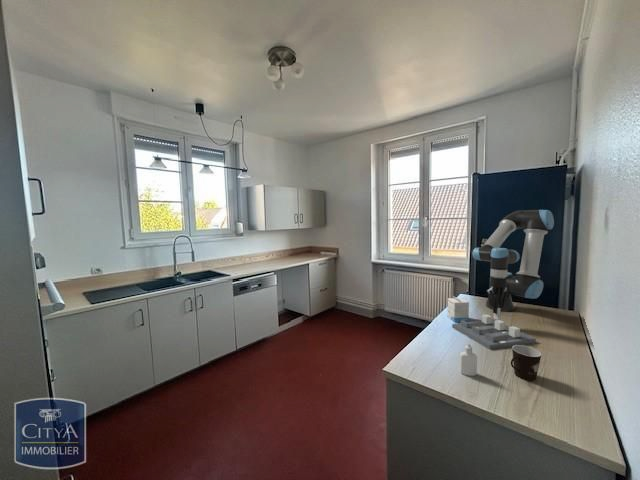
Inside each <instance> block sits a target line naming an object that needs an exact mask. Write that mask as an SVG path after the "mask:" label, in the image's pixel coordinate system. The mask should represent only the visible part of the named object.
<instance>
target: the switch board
mask: <svg viewBox="0 0 640 480" xmlns="http://www.w3.org/2000/svg"><path fill="white" fill-rule="evenodd" d="M495 321H496V319H494V318H493V319H492V318H491V324H485V323H483V322H482V320H475V321H474V320H473V321H469V322H465V321H463V320H461V322H456V323H452V324H451V325H452V326H451V328H452V329H454V330H455V331H458V332H459V333H461V334H462V335H464V336H466V337H468V338H469V339H471V340H472V341H474V342H476V343H478V344H480V345H481V346H483V347H484V348H486V349H488V350H494V349H495V350H496V349H499V348H509V347H512V346H514V345H523V346H524V345H528V344H535V343H536V341H537V338H535V337H533V336H531V335H528V334H526V333H524V332H522V331H520V337H516V338H514V337H512V336H510V335H509V327H510V326H508V325H507V324H505V330H500V331H499V330H497V329H495V328H494V327H495Z"/></svg>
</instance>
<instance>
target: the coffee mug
mask: <svg viewBox="0 0 640 480" xmlns="http://www.w3.org/2000/svg"><path fill="white" fill-rule="evenodd" d="M511 350H512V359H511V360H510V366H511V367H512V368H513V370H514V375H515V377H517V378H519V379H520V380H524V381H527V382H535V381H536V380H537V377H538V373H539V367H540V364H541V359H542V353H541V352H540V350H538V349H536V348H533V347H531V346H528V345H524V344H523V345H514V346H511Z"/></svg>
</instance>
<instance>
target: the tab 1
mask: <svg viewBox="0 0 640 480" xmlns="http://www.w3.org/2000/svg"><path fill="white" fill-rule="evenodd" d="M491 319H492V316H491V315H489V314H482V315H481V321H482V322H483V323H485V324H491Z"/></svg>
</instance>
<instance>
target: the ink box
mask: <svg viewBox="0 0 640 480" xmlns="http://www.w3.org/2000/svg"><path fill="white" fill-rule="evenodd" d="M469 304H470V303H469V301H467V300H466V299H464V298H462V297H456V296H454V295H452V297H451V298H450V297H449V298H448V297H447V318H448V319H449V320H450V321H452V322H453V323H461V320H463V321H465V322H470V321H469V319H470V317H469V316H470V315H469V313H470V311H469V310H470V309H469V308H470V305H469Z"/></svg>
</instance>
